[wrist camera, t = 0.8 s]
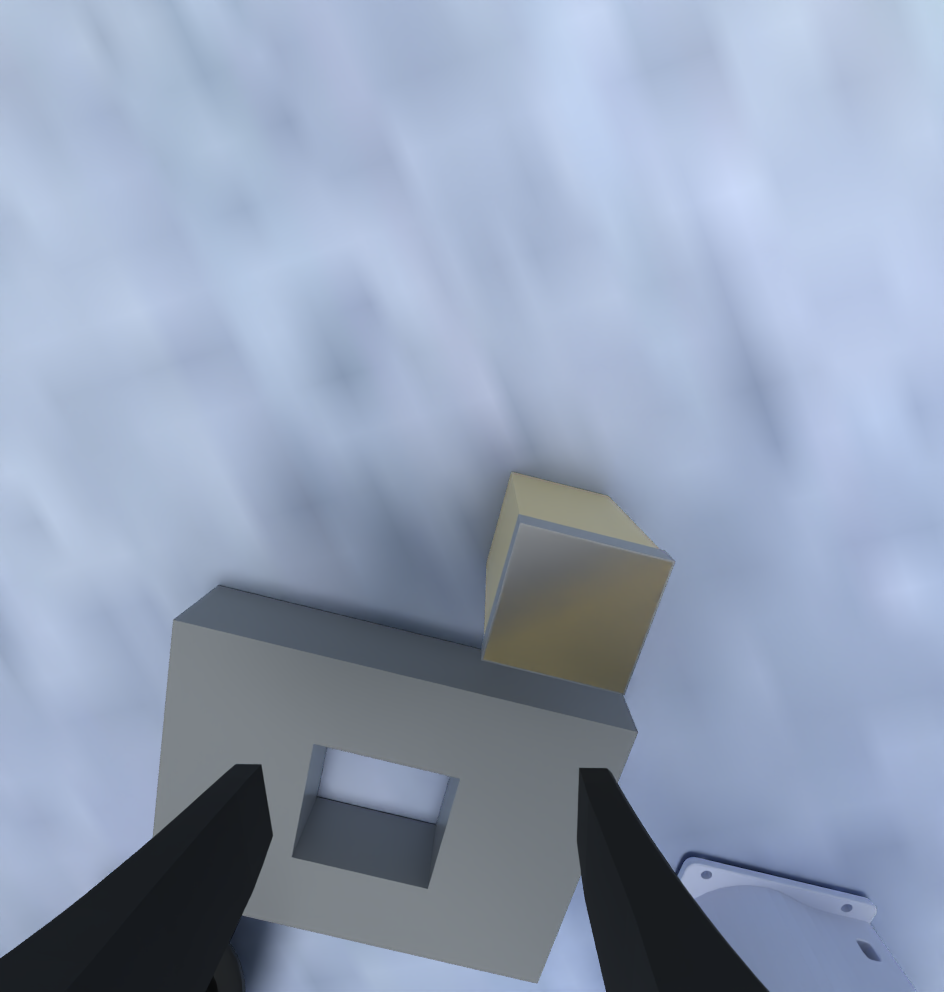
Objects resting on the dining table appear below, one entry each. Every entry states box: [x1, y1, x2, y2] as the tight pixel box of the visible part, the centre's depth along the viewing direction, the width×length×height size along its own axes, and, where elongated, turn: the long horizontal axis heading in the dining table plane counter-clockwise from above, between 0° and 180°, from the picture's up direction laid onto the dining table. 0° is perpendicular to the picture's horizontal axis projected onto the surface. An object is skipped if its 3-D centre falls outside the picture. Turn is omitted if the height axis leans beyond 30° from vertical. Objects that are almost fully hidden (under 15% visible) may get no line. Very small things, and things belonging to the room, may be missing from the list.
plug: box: [481, 472, 675, 695], centre depth 16 cm, size 4×4×7 cm
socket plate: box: [153, 585, 638, 983], centre depth 21 cm, size 18×14×3 cm
